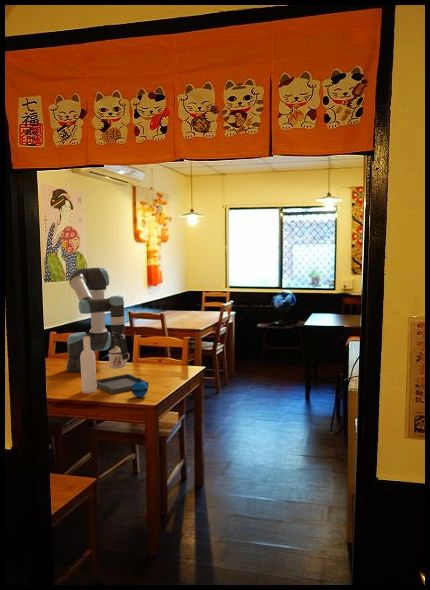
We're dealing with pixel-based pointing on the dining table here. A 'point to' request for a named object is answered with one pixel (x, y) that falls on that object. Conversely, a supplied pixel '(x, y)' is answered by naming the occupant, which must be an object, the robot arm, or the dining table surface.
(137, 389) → the ornament
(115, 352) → the teacup with lid
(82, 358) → the bottle
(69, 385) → the dining table surface
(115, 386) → the serving tray
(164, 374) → the dining table surface
